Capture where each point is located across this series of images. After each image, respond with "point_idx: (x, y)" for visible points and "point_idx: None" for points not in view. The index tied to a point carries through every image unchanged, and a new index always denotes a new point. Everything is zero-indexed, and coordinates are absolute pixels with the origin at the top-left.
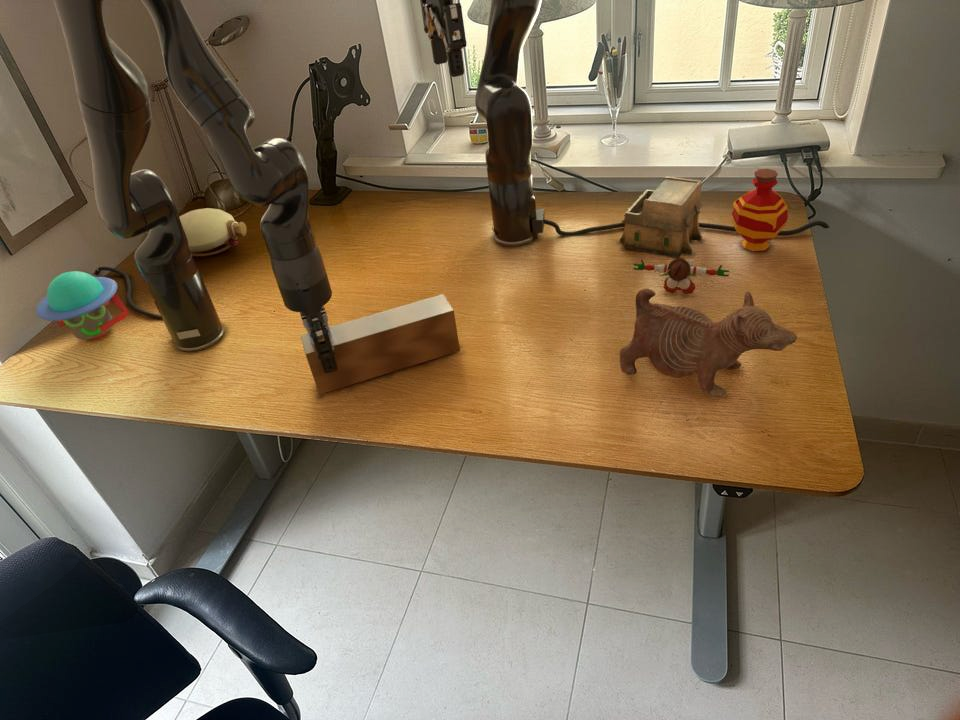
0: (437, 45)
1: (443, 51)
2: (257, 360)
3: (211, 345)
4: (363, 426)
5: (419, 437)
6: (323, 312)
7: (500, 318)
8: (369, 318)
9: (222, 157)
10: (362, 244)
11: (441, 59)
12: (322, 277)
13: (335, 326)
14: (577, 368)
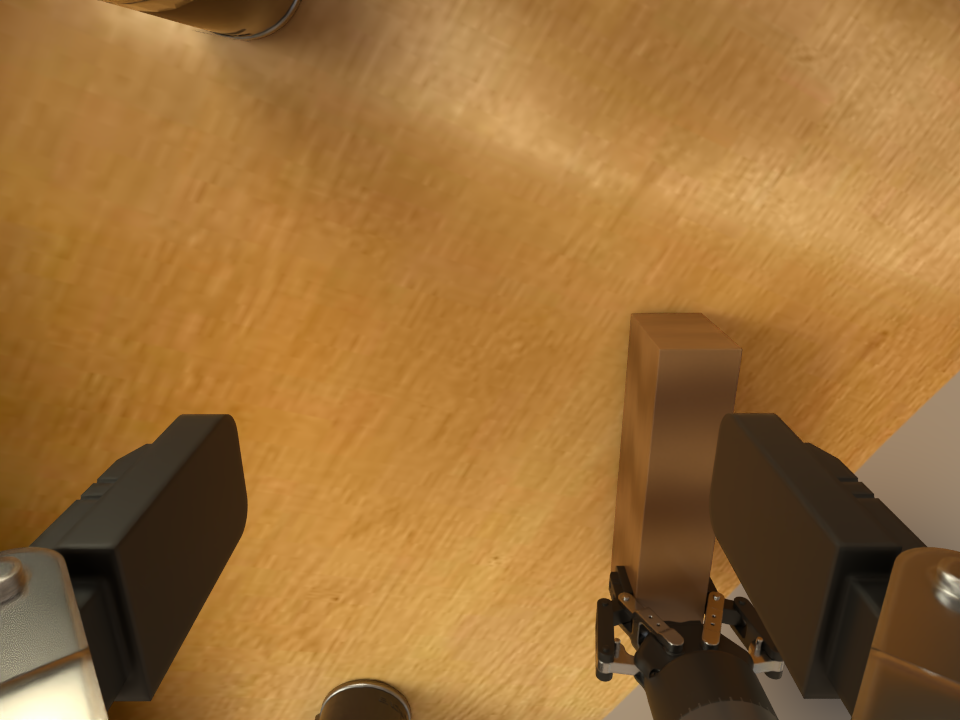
0: (171, 598)
1: (191, 491)
2: (493, 638)
3: (405, 699)
4: None
5: (870, 445)
6: (715, 648)
7: (626, 182)
8: (655, 518)
9: None
10: (103, 388)
11: (226, 480)
12: (770, 713)
13: (642, 580)
14: (905, 97)
